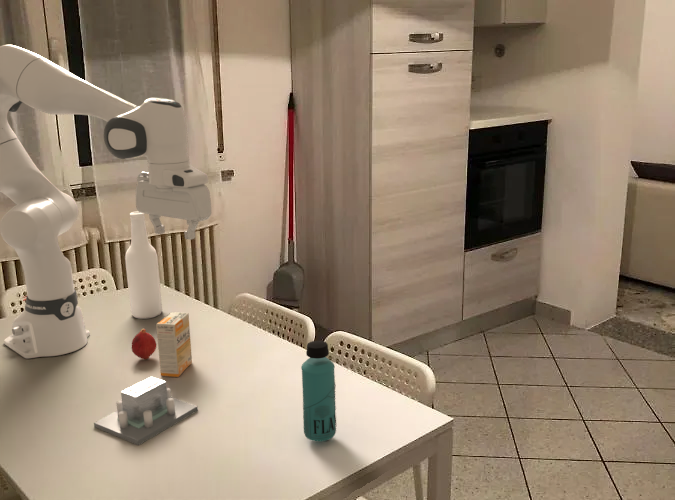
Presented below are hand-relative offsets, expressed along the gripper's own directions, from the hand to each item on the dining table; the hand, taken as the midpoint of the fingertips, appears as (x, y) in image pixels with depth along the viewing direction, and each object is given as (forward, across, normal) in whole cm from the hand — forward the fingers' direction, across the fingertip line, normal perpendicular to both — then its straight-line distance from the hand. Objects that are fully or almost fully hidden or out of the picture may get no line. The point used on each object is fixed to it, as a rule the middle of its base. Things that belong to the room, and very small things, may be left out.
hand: (174, 236), depth 157 cm
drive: (+32, +9, -20) cm, 39 cm away
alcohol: (+33, -38, +22) cm, 55 cm away
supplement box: (+33, -3, 0) cm, 33 cm away
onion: (+33, -14, 0) cm, 36 cm away
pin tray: (+33, +9, -20) cm, 40 cm away
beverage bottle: (+33, +44, -8) cm, 56 cm away
